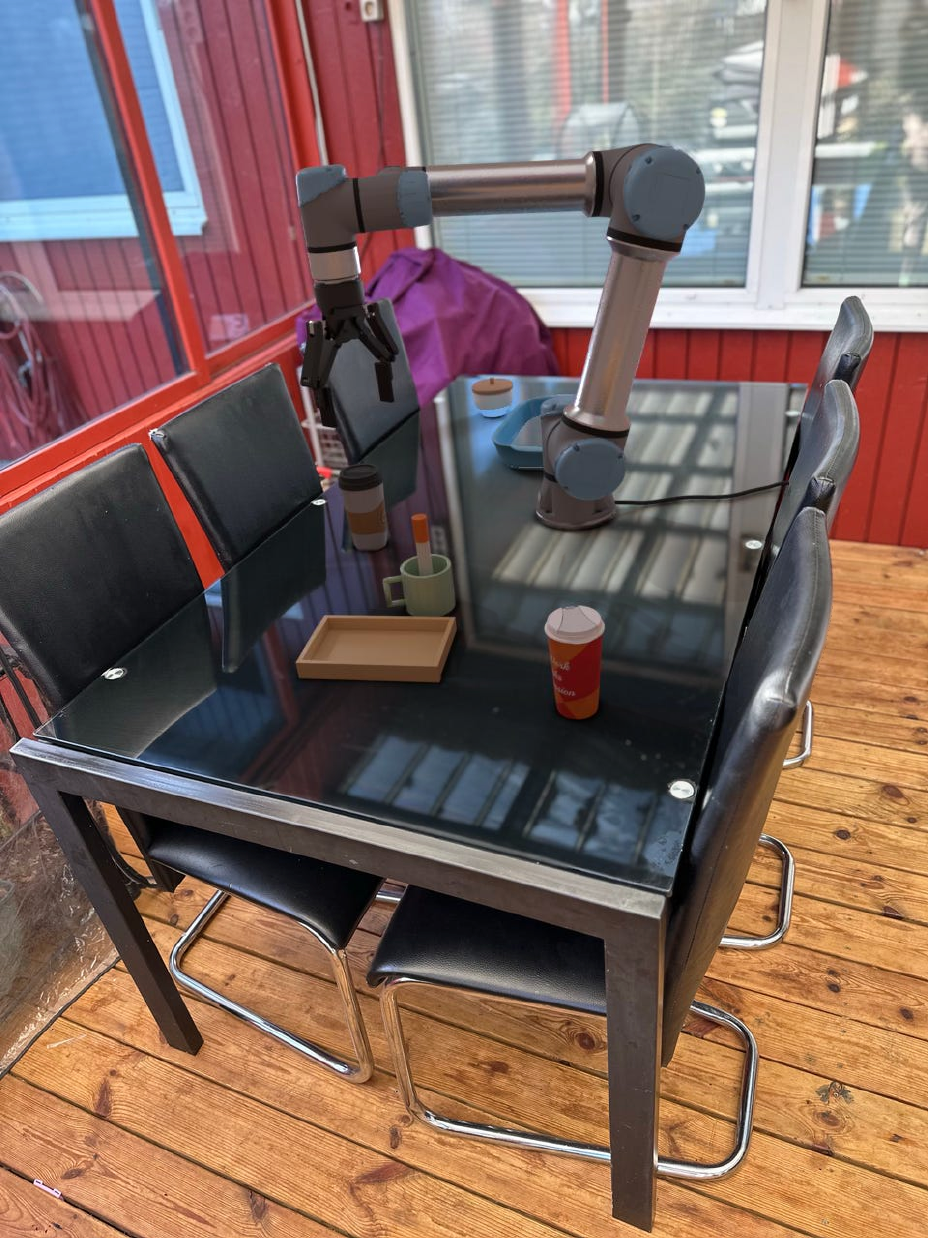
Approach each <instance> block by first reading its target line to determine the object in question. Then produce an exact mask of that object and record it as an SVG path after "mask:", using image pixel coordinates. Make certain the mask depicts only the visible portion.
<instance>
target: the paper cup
mask: <svg viewBox="0 0 928 1238" xmlns="http://www.w3.org/2000/svg"><path fill="white" fill-rule="evenodd" d="M605 630H606V625H605V622H604V620H603V619H602V616H601V614H600V613H599V612H598V611H597V610H596V609H595V608H592V607H589V606H586V605H577V606H574V605H573V606H565V608H562V607H559V608H557V609H555V610H553V611H552V612H551V613H550V614H549V615H548V617H547V621H546V623H545V625H544V632H545V634H546V635H547V640H548V641H547V643H548V650H549V657H550V666H551V674H552V675H551V676H552V682H553V690H554V691H553V692H554V699H555V704H556V709H557V711H558V713H559V714H560V715H562V716H563V717H565V718H566V719H571V720H582V719H588V718H591V717H592V716H593V715H595V714H596V713H597V711H598V709H599V700H600V686H601V685H600V684H601V668H602V665H601V664H602V648H603V647H602V646H603V645H602V643H603V634H604V632H605Z"/></svg>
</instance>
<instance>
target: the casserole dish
mask: <svg viewBox="0 0 928 1238" xmlns="http://www.w3.org/2000/svg"><path fill="white" fill-rule="evenodd" d="M576 394H577V393H575V394H574V393H573V394H572V393H563V394H562V393H559V394H551V395H547V396H536V397H532V398H528V399H525V400H523V401H521V402H519V404H517V405H516V406H515V407H514V408H513V409H512V410H511V412H510V413H509V414H508V415H507V416H506V417H505V419H503V421H502V422H501V423H500V424H499V426H498V427H497V428H496V429H495V430H494V432H493V434H492V435H491V441H492V443H493V445H494V448H495V450H496V453H497V455H498V456H499V459H500V460H501V461H502V463H503V464H504V465H506V466H507V467H509V468H510V469H513V470H523V471H541V472H542V471H543V472H544V468H519V467H543V449H542V447H538V446H517V445H511V444H512V443H514V441H515V438H516V437H517V435H518V434H519V432H520V430H521V429H522V427H523V426H524V425H525V423H526V422H527V421H528V420H530V419H531V418H533V417H536V416H539V415H541V405H542V404H543V402H545V401H546V400H548V399H551V398H555V397H559V396H566V395H576ZM511 466H513V467H511Z"/></svg>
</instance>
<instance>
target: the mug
mask: <svg viewBox="0 0 928 1238" xmlns="http://www.w3.org/2000/svg"><path fill="white" fill-rule="evenodd" d="M431 558H432V566H433V574H434V575H429V576H420V572H419V565H418V557H417V555H415V556H412V557H410V558H408V559H406V560H405V561H404V562H403V563H401V564H400V567H399V570H400V575H395V576H389V577H384V578H383V579H382V586H383V587H382V588H383V592H384V600H385V605H386V607H387V608H389V609H390V608H396V607H402V606H405V611H406V612H407V614H408V615H409V616H411V617H444V616H445V615H447V614H449V613H450V612H451V611H453V610H454V608H455V607H456V603H457V601H456V593H455V583H454V576H453V575H454V574H453V568H452V561H451V560H450V559H449V558H448V557H447V556H445V555H443V554H436V553H431ZM394 583H395V584H396V583H401V586H402V591H403V592H402V593H403V598H402V599H395V600H393V598H392V592H391V586H390V584H394Z"/></svg>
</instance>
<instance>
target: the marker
mask: <svg viewBox="0 0 928 1238" xmlns="http://www.w3.org/2000/svg"><path fill="white" fill-rule="evenodd" d="M411 524H412V532H413V539H414V543H415V549H416V556H417V557H418V565H419V572H420V576H429V575H434V574H433V566H432V558H431V554H432V552H431V551H432V550H431V543H430V537H431V536H430V529H429V523H428V516H427V515H426V514H425V513H416V514H414V515H412V516H411Z"/></svg>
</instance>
